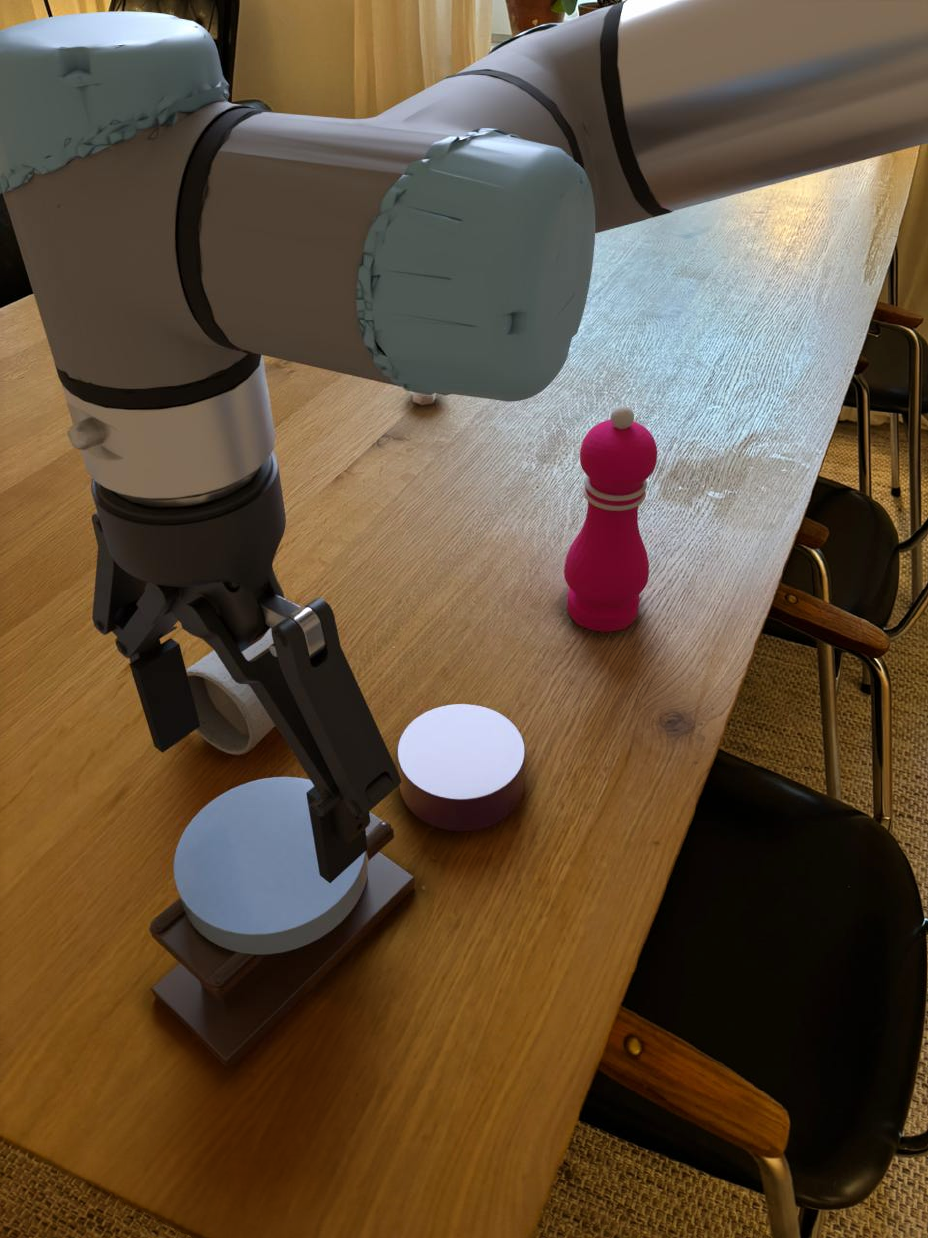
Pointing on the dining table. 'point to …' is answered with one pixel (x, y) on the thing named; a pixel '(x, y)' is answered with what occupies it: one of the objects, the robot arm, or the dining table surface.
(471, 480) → the dining table surface
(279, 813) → the side plate
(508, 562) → the dining table surface
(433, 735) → the plum stand
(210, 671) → the ceramic mug
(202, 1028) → the plate rack
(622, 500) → the pepper mill
